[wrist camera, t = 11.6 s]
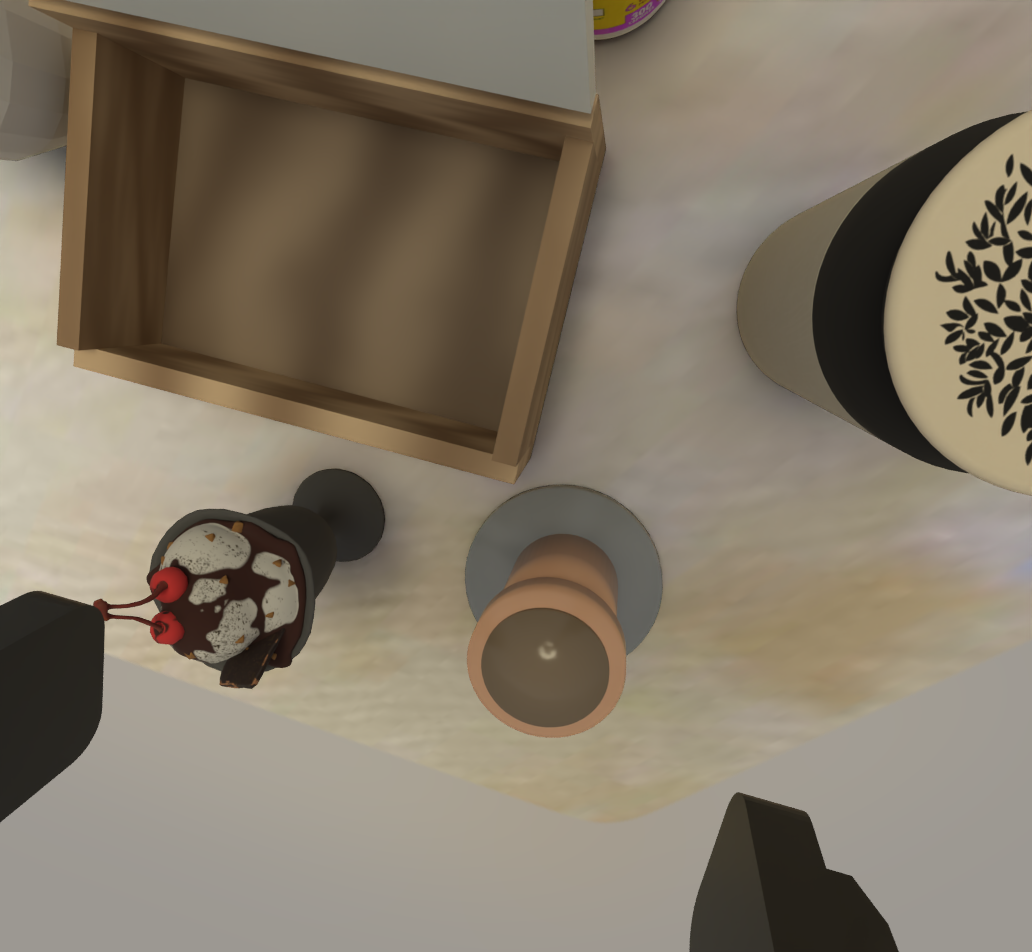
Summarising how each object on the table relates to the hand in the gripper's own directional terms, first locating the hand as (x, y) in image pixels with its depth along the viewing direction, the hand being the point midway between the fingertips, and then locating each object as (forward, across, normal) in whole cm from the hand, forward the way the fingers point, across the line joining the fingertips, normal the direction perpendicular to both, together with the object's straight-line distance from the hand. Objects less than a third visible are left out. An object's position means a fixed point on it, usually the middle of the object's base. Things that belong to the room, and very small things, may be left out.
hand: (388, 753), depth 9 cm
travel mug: (+26, -10, -7) cm, 28 cm away
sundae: (+25, +11, +8) cm, 29 cm away
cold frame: (+25, +12, -5) cm, 28 cm away
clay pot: (+24, -1, +8) cm, 26 cm away
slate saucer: (+25, -1, +8) cm, 27 cm away
